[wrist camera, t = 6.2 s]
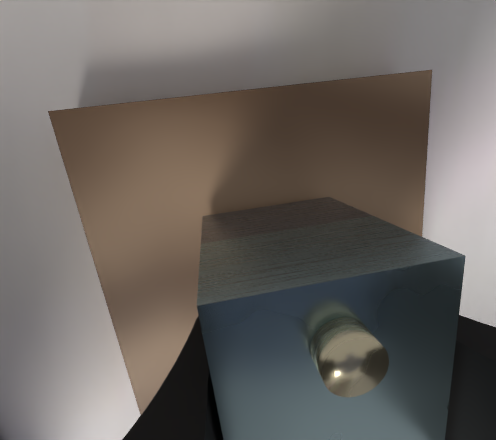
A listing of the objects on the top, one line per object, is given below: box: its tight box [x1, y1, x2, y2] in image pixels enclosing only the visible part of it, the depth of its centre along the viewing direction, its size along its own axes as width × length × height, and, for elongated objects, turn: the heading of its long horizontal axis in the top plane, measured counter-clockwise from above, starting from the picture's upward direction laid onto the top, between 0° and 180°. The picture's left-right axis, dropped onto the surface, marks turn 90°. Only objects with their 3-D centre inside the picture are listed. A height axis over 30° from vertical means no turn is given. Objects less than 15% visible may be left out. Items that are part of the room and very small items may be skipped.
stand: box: [48, 70, 432, 415], centre depth 13 cm, size 16×14×2 cm
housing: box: [197, 197, 465, 440], centre depth 9 cm, size 5×8×7 cm, turn 7°
